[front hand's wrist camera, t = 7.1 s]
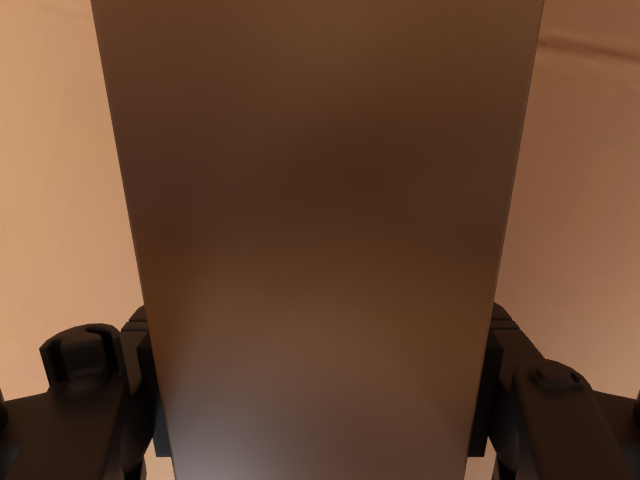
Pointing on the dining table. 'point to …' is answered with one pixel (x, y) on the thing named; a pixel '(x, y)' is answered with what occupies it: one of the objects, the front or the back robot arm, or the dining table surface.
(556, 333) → the dining table surface
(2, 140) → the dining table surface
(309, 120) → the beam
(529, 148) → the dining table surface
